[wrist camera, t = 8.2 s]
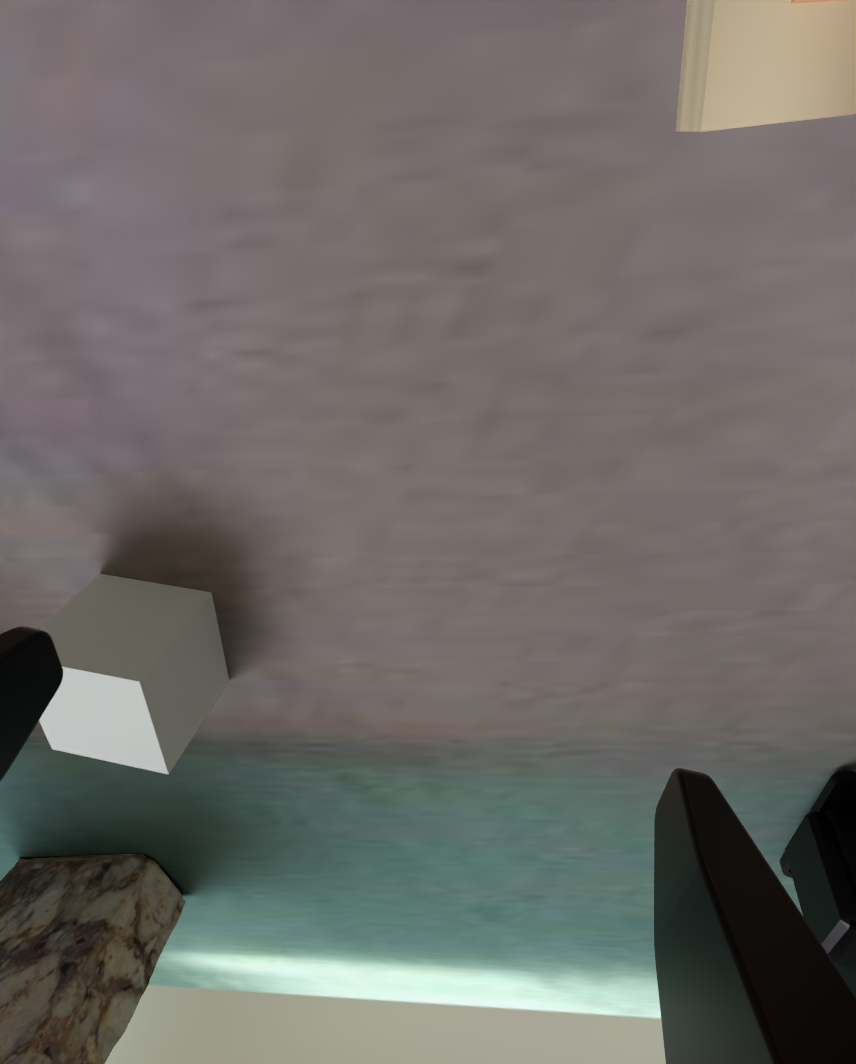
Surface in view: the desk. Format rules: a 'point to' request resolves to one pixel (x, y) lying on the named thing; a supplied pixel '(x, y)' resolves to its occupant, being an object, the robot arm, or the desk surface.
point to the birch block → (766, 63)
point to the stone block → (78, 952)
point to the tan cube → (806, 0)
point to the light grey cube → (134, 671)
